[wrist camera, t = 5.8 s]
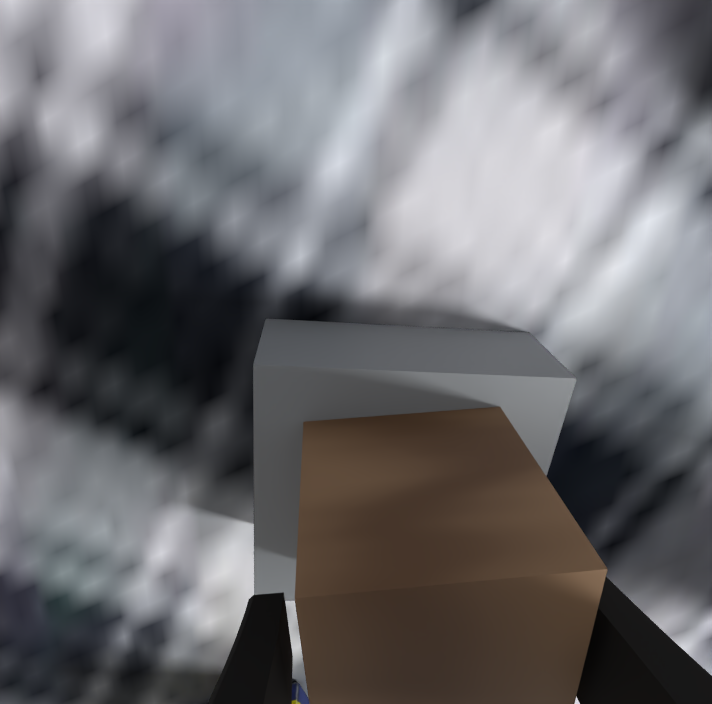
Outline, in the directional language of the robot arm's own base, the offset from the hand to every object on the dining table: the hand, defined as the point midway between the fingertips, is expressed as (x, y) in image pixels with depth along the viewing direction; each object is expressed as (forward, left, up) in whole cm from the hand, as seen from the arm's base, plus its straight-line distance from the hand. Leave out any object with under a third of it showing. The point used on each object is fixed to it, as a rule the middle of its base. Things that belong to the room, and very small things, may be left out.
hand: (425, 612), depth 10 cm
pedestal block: (0, 0, -7) cm, 7 cm away
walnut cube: (0, 0, -3) cm, 3 cm away
